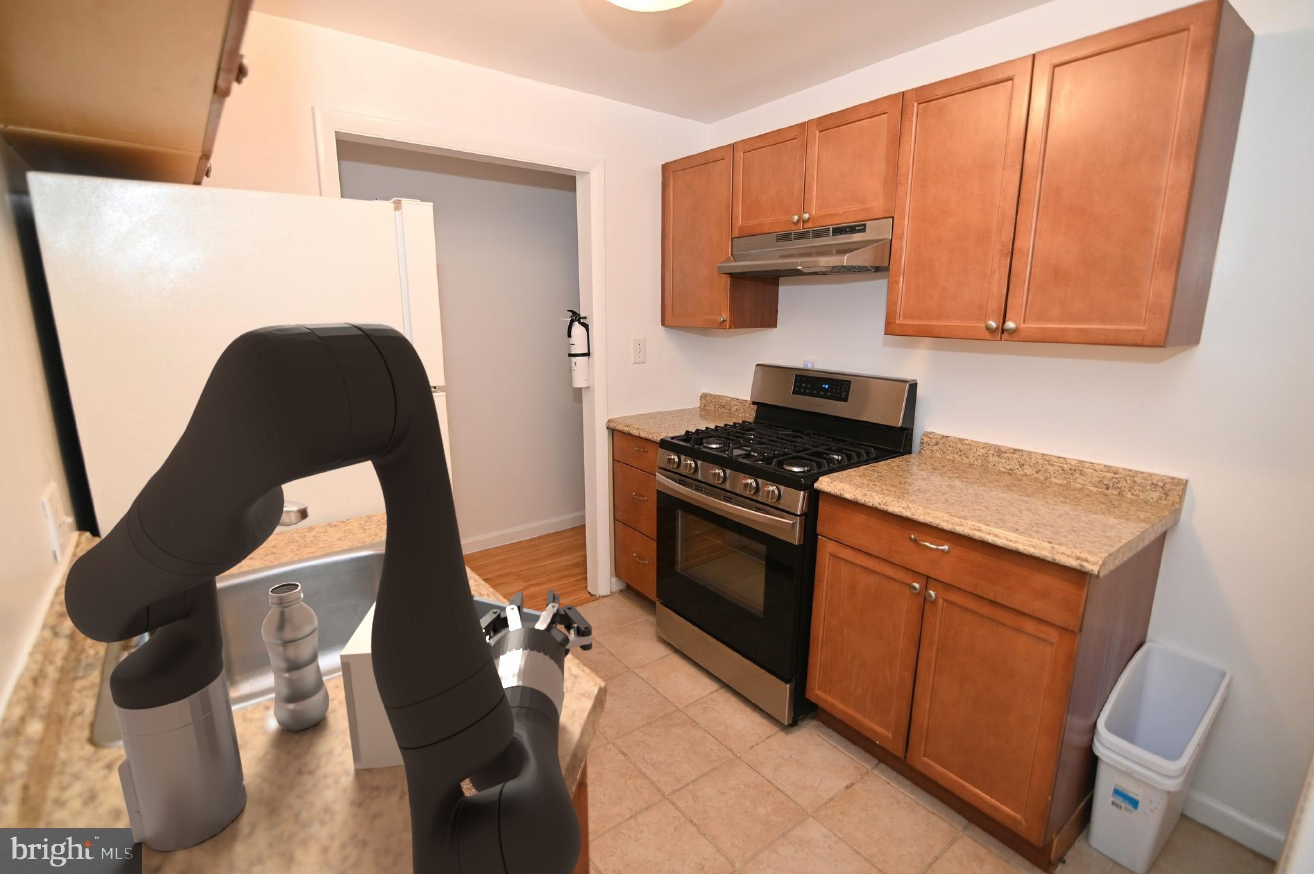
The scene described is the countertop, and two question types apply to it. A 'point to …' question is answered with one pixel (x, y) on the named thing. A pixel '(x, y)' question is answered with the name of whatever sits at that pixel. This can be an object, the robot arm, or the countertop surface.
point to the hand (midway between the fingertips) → (535, 598)
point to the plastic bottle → (294, 659)
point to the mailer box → (366, 704)
